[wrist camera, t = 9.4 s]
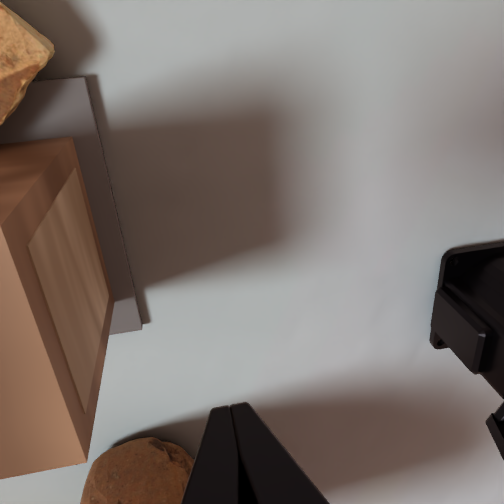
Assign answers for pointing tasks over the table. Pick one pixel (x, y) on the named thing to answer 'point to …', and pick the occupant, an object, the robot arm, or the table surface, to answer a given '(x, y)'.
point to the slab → (48, 308)
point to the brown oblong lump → (139, 474)
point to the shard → (19, 59)
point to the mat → (93, 172)
